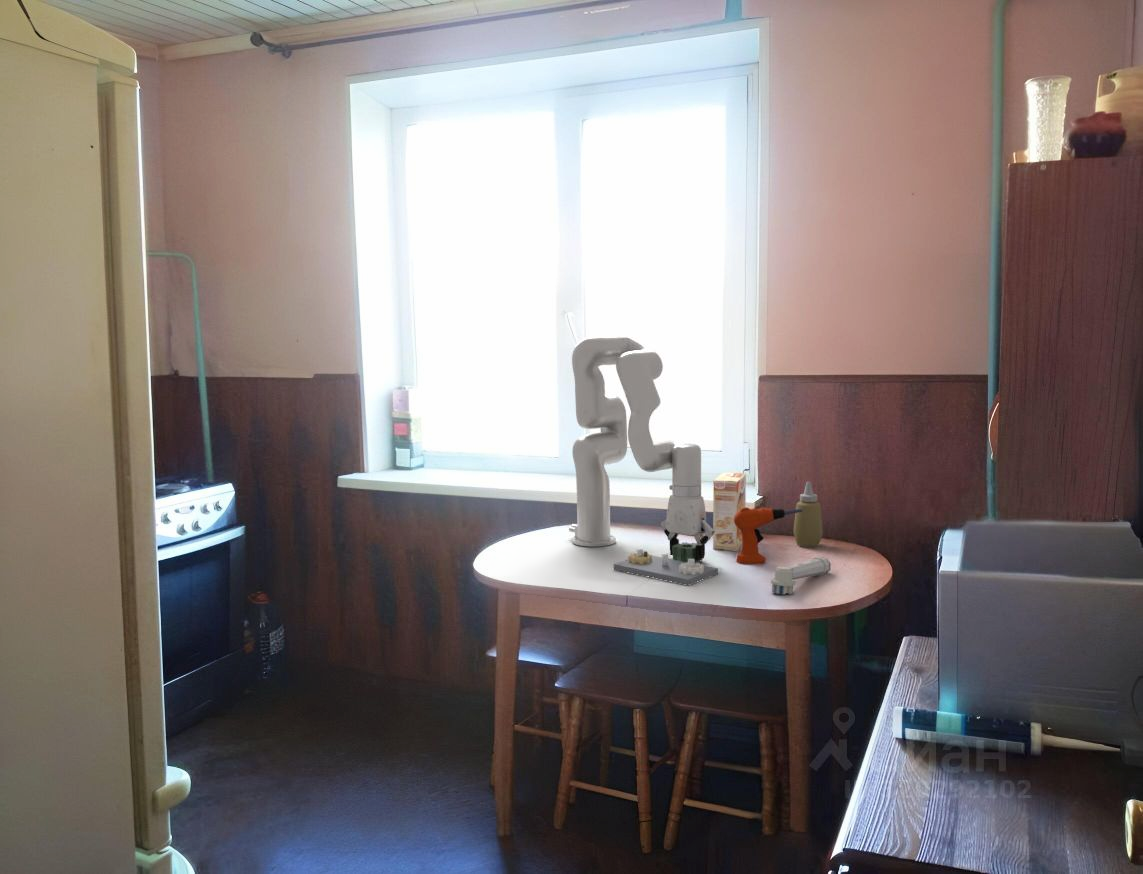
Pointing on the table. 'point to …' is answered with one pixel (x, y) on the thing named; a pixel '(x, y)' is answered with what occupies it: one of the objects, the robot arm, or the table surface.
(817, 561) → the toothbrush head
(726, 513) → the coffeecake box
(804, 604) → the table surface
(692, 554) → the idler gear
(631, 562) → the gear board
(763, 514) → the toy drill
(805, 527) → the squeeze bottle
